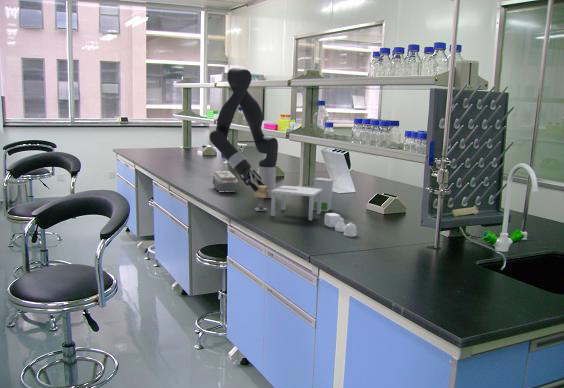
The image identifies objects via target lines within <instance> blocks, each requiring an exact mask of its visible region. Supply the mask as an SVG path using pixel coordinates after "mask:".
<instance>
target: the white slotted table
mask: <svg viewBox="0 0 564 388" xmlns="http://www.w3.org/2000/svg"><path fill="white" fill-rule="evenodd" d="M271 193H272V196H271V199H270V200H271V201H270V202H271V204H270V206H271V207H270V216H271V217H275V216H276V202H277V201H276V199H277V198H276V196H277V195H276V194H280V195H281V206H280V207H281V208H280V210H281V211H286V196H287V195H293V196H300V197H301V196H303V197H309V199H308V200H309V201H308V221H313V218H314V210H313V199H314V196H315V195H317V194H318V202H317V210H316V214H317V215H321V214H322V211H321V199H322V189H317V188H314V187H306V186H305V187H304V186H294V185H281V186H278V187H277V188H276V187H275V189H274V190H271Z"/></svg>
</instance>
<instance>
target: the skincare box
mask: <svg viewBox="0 0 564 388" xmlns="http://www.w3.org/2000/svg"><path fill="white" fill-rule="evenodd" d="M333 184H334V179H332V178H327V177H326V178H325V177H316V178H314V186H313V188H317V189H322V199H321V212H327V213H329V211H330V210H331V208H332V199H333V198H332V196H333ZM317 202H318V194H317V195H315V196H314V199H313V211H317Z"/></svg>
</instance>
